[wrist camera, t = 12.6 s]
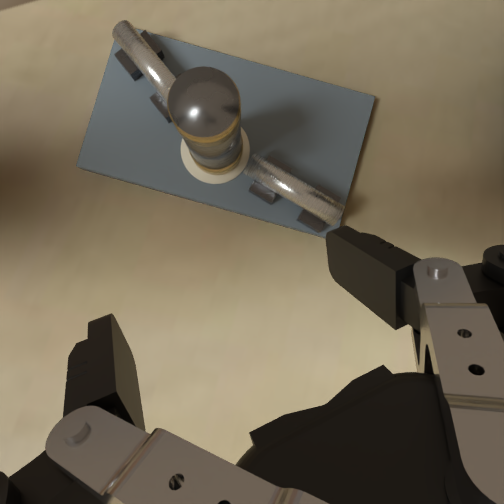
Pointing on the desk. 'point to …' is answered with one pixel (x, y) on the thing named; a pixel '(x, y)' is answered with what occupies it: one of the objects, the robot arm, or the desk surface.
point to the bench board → (252, 130)
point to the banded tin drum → (208, 118)
